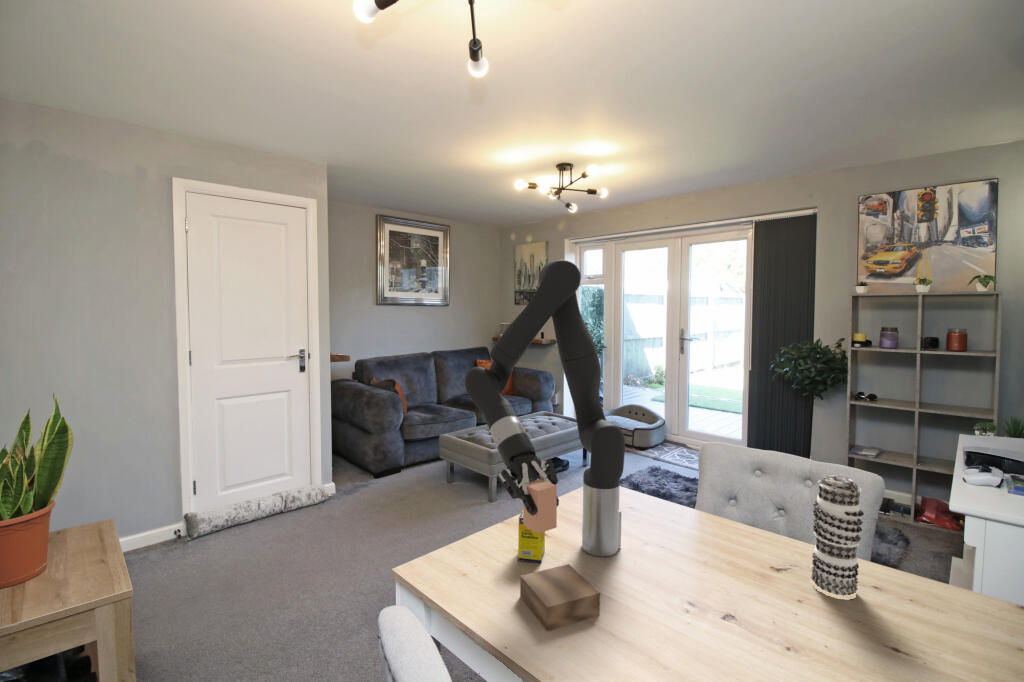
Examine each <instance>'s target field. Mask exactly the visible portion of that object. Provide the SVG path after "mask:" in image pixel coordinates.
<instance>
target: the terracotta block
mask: <svg viewBox="0 0 1024 682" xmlns="http://www.w3.org/2000/svg"><path fill="white" fill-rule="evenodd" d="M527 487H528V489H529V495H530V494H531V496H532V498H533V500H534V502H535V505H536V507H537V509H538V512H537V513H536V514H535V515H531V514H530V513H528V512H527V510H526V507H525V505H524V503H523V502H522V503H523V505H522V507H523V508H522V510H523V525H524V526H526V527H527V528H529V529H531V530H532V531H534V532H536V533H537V534H539V533H542V532H545V533H546V532H547V531H550V530H553V529H556V528H557V527H558V526H557V524H558V523H557V519H558V518H557V517H558V516H557V512H558V511H557V508H558V506H557V505H556V504H557V497H558V496H557V495H558V494H557V493H558V491H557V489H558V488H557V484H556V485H554V484H552V483H550V482H547V481H543V480H535V481H532V482H529V484H528V485H527Z"/></svg>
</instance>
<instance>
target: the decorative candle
mask: <svg viewBox="0 0 1024 682" xmlns="http://www.w3.org/2000/svg"><path fill="white" fill-rule="evenodd" d="M817 485H818V491H817V492H818V493H817V495H816V497H817V498H816V500H815V501H814V503H813V504H812V505H813V508H814V509H813V510H812V512H813V516H814V518H813V526H812V527H813V535H814V537H815V544H814V552H812V558H813V559H812V562H811V563H812V567H811V576H810V577H811V581H812V580H813V581H814V582H815V584H816V585H817V586H818V587H820V588H821V589H822V590H825V591H827V592H829V593H833V594H836V595H843V596H844V595H851V594H854V593H856V592H857V591H858V589H859V588H858V585H857V584H858V583H859V581H858V580H859V579H858V577H857V576H858V575H859V570H858V569H859V567H860V566H859V563H858V554H857V552H858V551H857V547H858V546H860V541H861V539H862V538H861V536H860V535H859V533H861V532H862V531H863V529H862V527H861V526H862V525H863V520H862V519H860V518H859V517H862V516H864V515H865V513H864V512H863V510H861V502H860V496H861V495H860V493H862V491H863V489H862V488H861V487H859V486H858V485H857V483H856V482H855V481H854V480H853V479H850V478H848V477H844V476H840V475H826V476H823V478H822V479H820V480H818V481H817Z"/></svg>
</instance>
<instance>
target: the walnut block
mask: <svg viewBox="0 0 1024 682" xmlns="http://www.w3.org/2000/svg"><path fill="white" fill-rule="evenodd" d="M519 583H520V585H519V587H520V590H519V596H520V597H519V598H521V600H522V601H523V602H524V604H525V605H526V606H527V607H528V609H529V610H530V611H531V612H532V614H533V615H534V616H535V618H536V619H537V620H538V621H539V622H540V624H541V625H542V626H543V628H545V631H546V632H548V631H552V630H556V629H559V628H562V627H565V626H567V625H572V624H575V623H578V622H581V621H585V620H588V619H591V618H595V617H597V616H600V612H601V611H600V610H601V608H600V607H601V606H600V605H601V603H600V602H601V592H600V591H599V590H597V588H596V587H595V586H593V585H592V584H591V583H590V582H589V581H588V580H587V579H586V578H585V577H584V576H583V575H582V574H581V573H579V572H578V571H577V570H576V569H575V568H574V567H573V566H572V565H570V564H569V563H568V564H562V565H559V566H556V567H551V568H548V569H547V568H545V569H542V570H539V571H534V572H530V573H526V574H522V575H520V582H519Z"/></svg>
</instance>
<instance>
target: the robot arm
mask: <svg viewBox="0 0 1024 682" xmlns="http://www.w3.org/2000/svg"><path fill="white" fill-rule="evenodd" d="M581 276H582V275H581V272H580V269H579V268H578V266H577V265H576V264H575V263H574V262H572V261H571V260H568V259H557V260H552V261H550V262H548V263H546V264H545V265H544V266H543V267H542V268H541V270H540V272H539V277H538V283H539V285H538V287H537V290H536V291H535V293H534V295H533V296H532V298H531V299H530V301H529V302H528V303H527V305H526V306H524V307H525V308H523V309H522V311H521V312H520V313H519V314H518V315H517V316H516V318H515V319H514V320H513V321H512V322H511V323H510V324H509V325H508V326H507V327H506V328H505V330H504V332H503V333H502V334H501V335H500V337H498V339H497V341H496V343H494V345H493V347H492V348H491V349H490V352H489V358H490V359H491V360H492V362H491V363H492V364H491V365H490V367H489V369H487V368H485V367H482V366H474V367H472V368H470V369H469V370H468V371H467V373H465V377H464V387H465V390H466V392H467V394H468V397H469V398H470V399H471V401H472V402H473V403H474V404H475V406H476V408H477V409H478V410H479V412H480V413H481V414H482V415H483V418H484V420H485V422H486V425H487V427H488V428H489V431H490V433H491V437H492V440H493V442H494V444H495V448H496V449H497V451H498V453H499V455H500V457H501V460H502V462H503V464H504V465H505V467H506V469H502V470H501V471H500V473H499V474H498V476H497V479H498V481H499V482H500V483H501V485H502V486H503V488H504V489H505V490H506V492H507V493H508V495H509V497H511V499H513V500H516V499H520V500H521V501H522V503H524V505H525V507H526V510H527V512H528V513H530V514H531V515H535V514H536V513H537V512H538V509H537V507H536V505H535V502H534V500H533V498H532V496H531V494H530V495H529V489H528V487H527V485H528V484H529V482H532V481H535V480H543V481H547V482H550V483H552V484H554V485H556V486H557V484H558V483H559V480H558V475H557V473H556V469H555V465H554V462H553V460H552V459H551V458H547V460H541V459H540V458H539V457H538V456H537V454H536V449H535V447H534V445H533V442H532V441H531V439H530V437H529V435H528V433H527V431H526V429H525V427H524V425H523V423H522V422H521V421H520V420H519V418H518V416H517V414H516V412H515V410H514V408H513V405H511V403H510V402H509V400H508V399H507V398H505V397H504V396H503V395H502V393H504V391H505V389H506V387H507V385H508V383H509V381H510V379H511V375H512V373H513V370H514V368H515V366H516V365H517V363H518V362H519V361H520V360H521V358H522V357H523V355H525V353H526V351H527V349H529V347H530V345H531V344H532V343H533V341H534V340H535V338H536V337H537V336H538V334H539V332H540V331H541V330H542V329H543V327H544V326H545V325H546V323H547V322H548V321H549V320H550V319H552V322H553V330H554V334H555V335H554V336H555V340H556V344H557V350H558V352H559V357H560V362H561V363H560V364H561V365H562V370H563V373H564V376H565V380H566V383H567V387H568V389H569V393H570V397H571V400H572V403H573V407H574V412H575V418H576V425H577V431H578V432H577V433H578V438H579V441H580V444H581V446H582V447H583V449H584V450H585V451H587V452H588V453H590V465H589V467H588V468H586V469H585V470H584V471H583V476H582V477H583V481H582V484H583V485H582V487H583V488H582V529H581V530H582V532H581V534H582V535H581V547H582V549H583V551H585V553H587V554H590V555H593V556H596V557H611V556H614V555H616V554H617V553H618V552H619V549H620V548H621V546H622V543H621V542H622V541H621V540H622V511H621V510H620V490H621V489H620V488H621V487H620V485H621V484H620V483H621V478H622V476H623V473H624V467H625V466H624V465H625V453H626V440H625V439H626V438H625V434H624V432H623V431H622V429H621V428H620V427H619V426H617V425H616V424H614V423H611V422H609V421H608V420H607V419H606V416H605V414H604V409H603V407H602V404H601V403H602V402H601V397H600V388H601V378H602V369H601V368H602V367H601V363H600V359H599V355H598V350H597V348H596V344H595V340H594V339H593V336H592V334H591V332H590V331H589V328H588V326H587V324H586V322H585V320H584V318H583V316H582V313H581V310H580V307H579V302H578V297H577V293H576V292H577V290H578V289H579V287H580V285H581V280H582V279H581ZM556 505H557V507H558V506H559V505H560V500H559V497H558V496H557V504H556Z"/></svg>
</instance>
